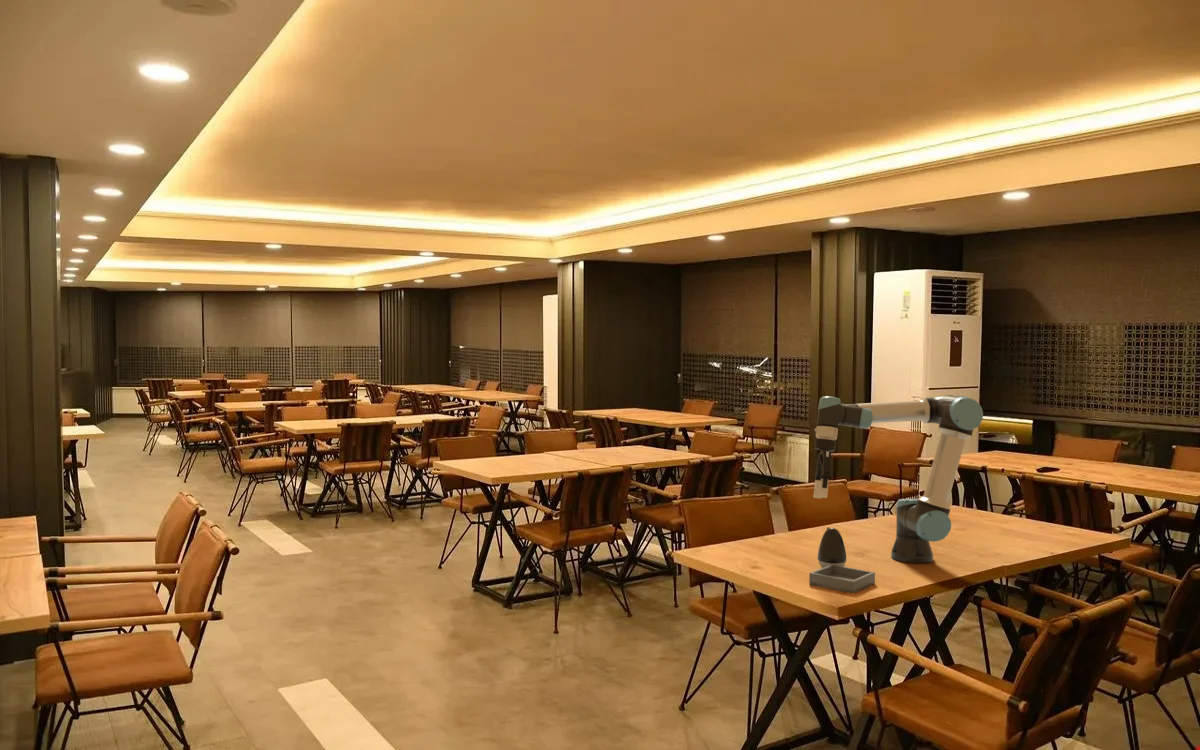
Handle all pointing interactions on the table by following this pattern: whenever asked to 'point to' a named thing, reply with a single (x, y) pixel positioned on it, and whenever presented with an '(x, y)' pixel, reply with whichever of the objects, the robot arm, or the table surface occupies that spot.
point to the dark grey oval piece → (832, 549)
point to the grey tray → (842, 578)
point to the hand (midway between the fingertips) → (820, 498)
